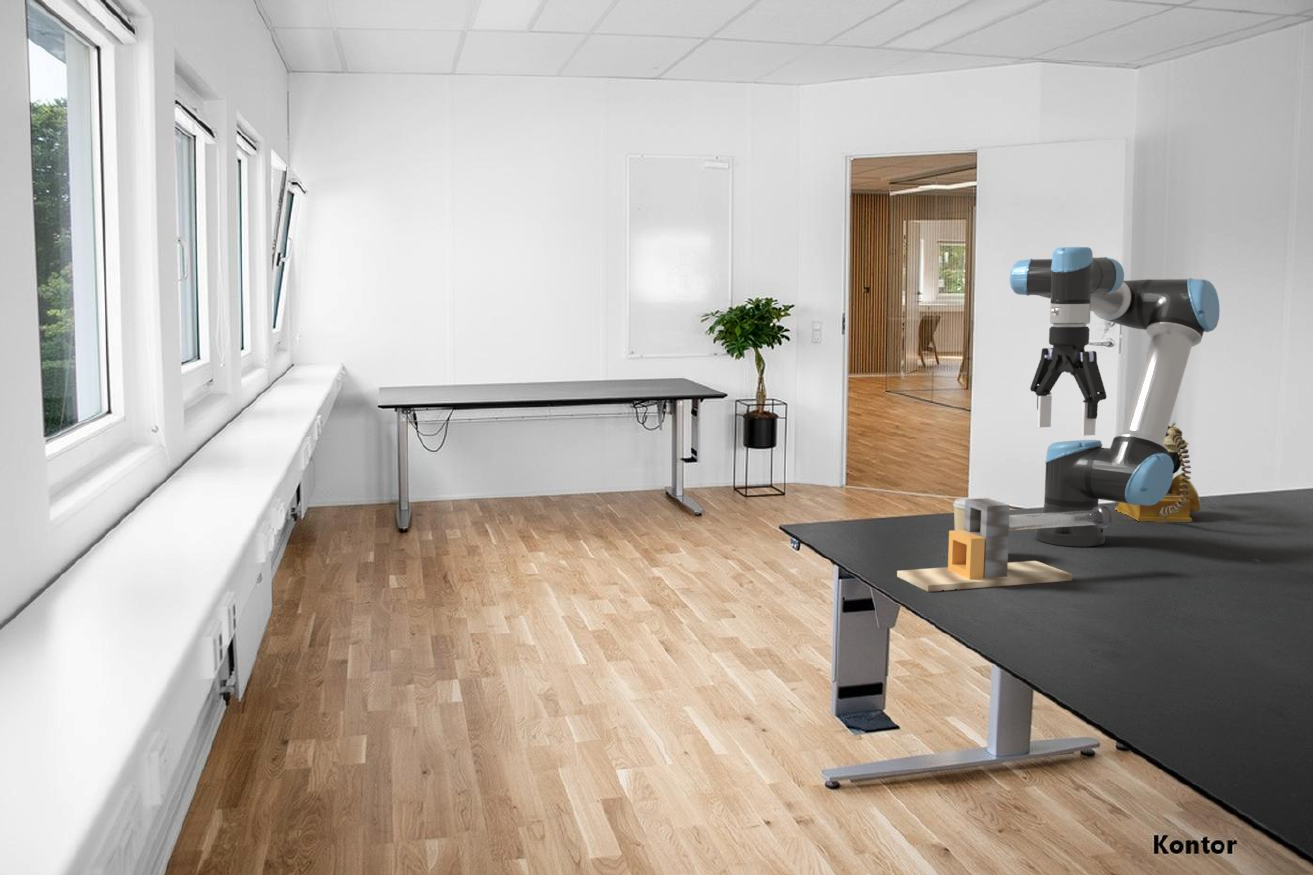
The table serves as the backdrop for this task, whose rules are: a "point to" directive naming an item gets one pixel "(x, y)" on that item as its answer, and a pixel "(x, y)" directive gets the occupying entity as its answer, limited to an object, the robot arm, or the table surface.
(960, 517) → the coffee cup
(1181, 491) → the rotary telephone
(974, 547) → the frame
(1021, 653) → the table surface
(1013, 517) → the shaft
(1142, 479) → the robot arm
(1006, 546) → the bearing fixture
